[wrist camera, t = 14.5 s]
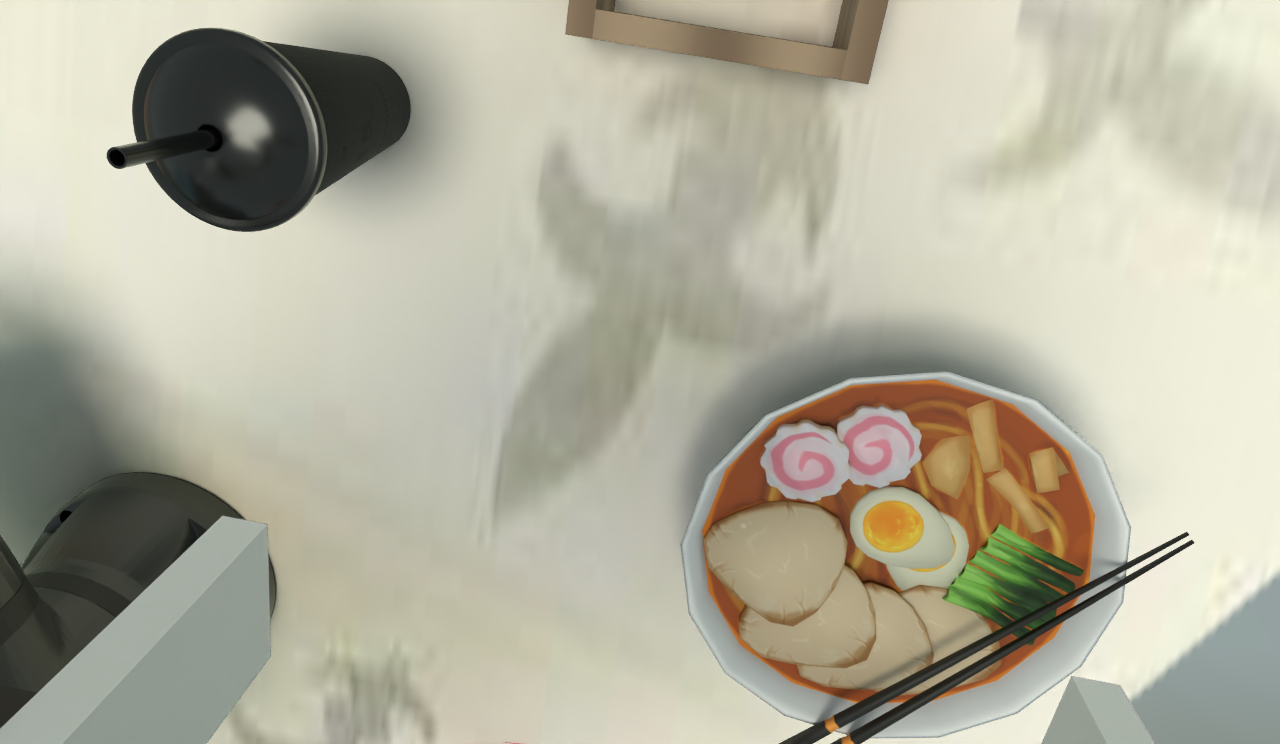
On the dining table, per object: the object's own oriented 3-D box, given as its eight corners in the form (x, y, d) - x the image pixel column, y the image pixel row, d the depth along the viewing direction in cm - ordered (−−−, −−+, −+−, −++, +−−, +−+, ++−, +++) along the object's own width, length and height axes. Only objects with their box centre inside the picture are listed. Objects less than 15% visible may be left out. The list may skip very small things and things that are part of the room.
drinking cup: (299, 167, 47) (21, 257, 29) (294, 18, 44) (-20, 12, 26) (434, 186, 47) (240, 290, 28) (438, 37, 44) (224, 45, 25)
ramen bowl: (953, 224, 45) (997, 265, 37) (1170, 526, 50) (1248, 615, 42) (597, 476, 53) (575, 552, 45) (817, 715, 58) (830, 818, 50)
